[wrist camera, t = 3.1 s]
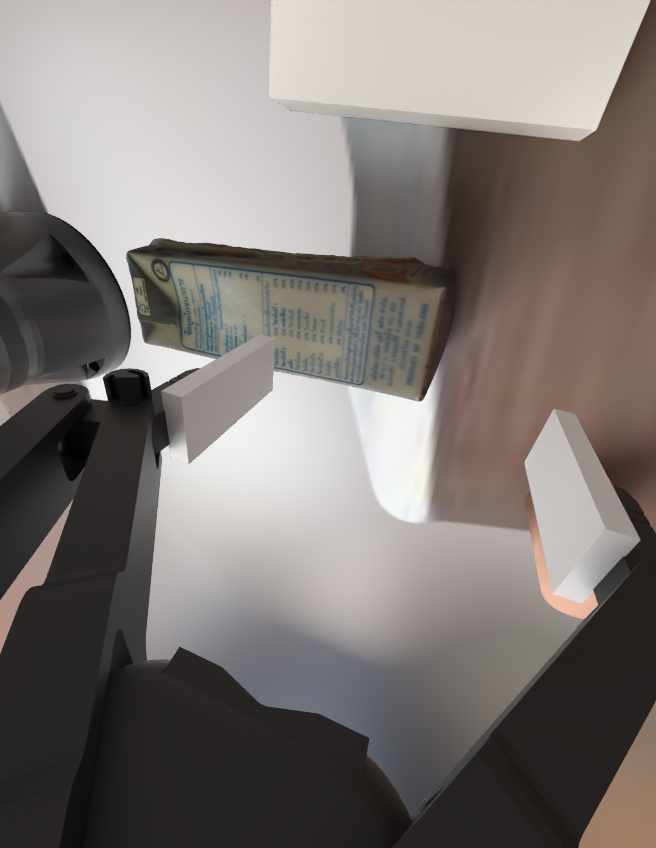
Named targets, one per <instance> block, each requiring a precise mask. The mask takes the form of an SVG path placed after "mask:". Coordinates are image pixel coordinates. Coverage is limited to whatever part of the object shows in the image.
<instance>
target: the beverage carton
mask: <svg viewBox="0 0 656 848" xmlns="http://www.w3.org/2000/svg"><path fill="white" fill-rule="evenodd" d="M126 259H127V262H128V265H129V271H130V274H131V278H132V282H133V288H134V294H135V301H136V307H137V315H138V319H139V321H140V324H141V329H142V336H143V339H144V342H145V343H147V344H151V345H157V346H162V347H167V348H172V349H175V350H180V351H184V352H188V353H192V354H197V355H201V356H205V357H210V358H214V359H218V358H220V357H221V356H223V355H225V354H226V353H228V352H230V351H232V350H233V349H235V348H237V347H239V346H240V345H242V344H244V343H246V342H247V341H249V340H251V339H253V338H254V337H256V336H258V335H260V334H262V335H266V336H270V337H273V338H275V348H274V368H273V371H277V372H282V373H288V374H293V375H298V376H303V377H309V378H314V379H320V380H324V381H329V382H333V383H338V384H343V385H348V386H352V387H356V388H361V389H367V390H371V391H375V392H380V393H385V394H389V395H394V396H398V397H403V398H407V399H411V400H415V401H422V400H423V399H424V397H425V395H426V393H427V391H428V389H429V386H430V384H431V382H432V380H433V377H434V375H435V372H436V370H437V368H438V365H439V363H440V360H441V357H442V355H443V352H444V349H445V346H446V343H447V339H448V336H449V332H450V327H451V321H452V316H453V310H454V303H455V289H456V275H457V273H456V270H455V269H445V268H442V267H434V266H429V265H426V264H423V263H422V262H421V261H420V260H418V259H416V258H390V257H385V258H375V257H363V256H362V257H344V256H334V255H314V254H299V253H297V254H293V253H286V252H277V251H267V250H260V249H248V248H242V247H231V246H227V245H218V244H211V243H184V242H177V241H173V240H170V239H163V238H159V239H154V240H153V241H152V242H151V244H150V245H148V246H145V247H141V248H137V249H134V250H130V251H128V252H127V255H126Z"/></svg>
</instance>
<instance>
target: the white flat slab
mask: <svg viewBox="0 0 656 848" xmlns="http://www.w3.org/2000/svg"><path fill="white" fill-rule="evenodd" d="M649 3H650V0H271V27H270V62H269V98H270V99H272V100H274V101H276V102H277V103H279V104H281V105H282V106H284V107H286V108H288V109H289V110H291V111H299V112H308V113H317V114H327V115H336V116H346V117H355V118H365V119H374V120H384V121H393V122H402V123H412V124H421V125H431V126H440V127H450V128H459V129H468V130H478V131H487V132H497V133H506V134H516V135H525V136H534V137H544V138H553V139H563V140H572V141H580V140H582V139H583V138H585V137H586V136H588V135H589V134H591V133H592V132H594V131H595V130H596V129H597V127H598V125H599V122H600V120H601V117H602V115H603V113H604V110H605V108H606V105H607V103H608V101H609V98H610V96H611V94H612V91H613V89H614V86H615V84H616V82H617V79H618V77H619V74H620V72H621V70H622V67H623V65H624V62H625V60H626V58H627V55H628V53H629V50H630V48H631V46H632V43H633V41H634V39H635V36H636V34H637V31H638V29H639V27H640V24H641V22H642V19H643V17H644V15H645V12H646V10H647V7H648V5H649Z"/></svg>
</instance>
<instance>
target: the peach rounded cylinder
mask: <svg viewBox="0 0 656 848" xmlns="http://www.w3.org/2000/svg"><path fill="white" fill-rule="evenodd" d="M525 507H526V513H527V518H528V523H529V529H530V534H531V539H532V544H533V550H534V555H535V560H536V566H537V571H538V576H539V581H540V587H541V592H542V594H543V596H544V598H545V599H546V601H547V602H548V603H549V604H550V605H551V606H553V607H554V608H556V609H557V610H559V611H561V612H563V613H565V614H568V615H571V616H574V617H578V618H583V619H585V618H586V617H587V616H588V615H589V614H590V613H591V612H592V611H593V610H594V609H595V608H596V607H597V606H598V603H597V600H596V597H595V594H594V591H593V593H592V594H591V595H590V596H589V597H588V598H587V599H586V600H585V601H584V602H583V603H582V604H580V603H577V602H575V601H572V600H569V599H566V598H563V597H561V596H558V595H555V594H553V592H552V587H551V583H550V578H549V573H548V569H547V564H546V560H545V555H544V550H543V546H542V541H541V537H540V532H539V527H538V523H537V518H536V514H535V509H534V504H533V500H532V495H531V491H530V492H529V494H528V495H527V497H526V500H525Z"/></svg>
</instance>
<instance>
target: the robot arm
mask: <svg viewBox="0 0 656 848" xmlns="http://www.w3.org/2000/svg"><path fill="white" fill-rule="evenodd" d="M130 342H131V322H130V316H129V311H128V307H127V304H126V301H125V298H124V295H123V292H122V290H121V288H120V285H119V283H118V281H117V279H116V277H115V275H114V274H113V272H112V270H111V268H110V267H109V265H108V264H107V262H106V261H105V259H104V258H103V257H102V255H101V254H100V253H99V251H98V250H97V249H96V248H95V247H94V246H93V245H92V243H91V242H90V241H89V240H88V239H87V238H86V237H85V236H84V235H83V234H82V233H80V232H79V231H78V230H77V229H75V228H74V227H73V226H71V225H70V224H69V223H67V222H65V221H64V220H62V219H60V218H58V217H56V216H53V215H51V214H49V215H48V214H45V213H41V212H6V213H1V214H0V394H3V393H5V392H8V391H10V390H13V389H16V388H18V387H21V386H24V385H31V384H43V383H55V382H67V381H79V380H88V379H92V378H96V377H98V376H101V375H103V374H105V373H108V372H110V371H112V370H114V369H116V368H117V367H118V366H120V365H121V363H122V362H123V361H124V360H125V358H126V356H127V354H128V351H129V348H130ZM274 348H275V338H273V337H270V336H266V335H262V334H260V335H258V336H256V337H254V338H253V339H251V340H249V341H247V342H246V343H244V344H242V345H240V346H239V347H237V348H235V349H233V350H232V351H230V352H228V353H226V354H225V355H223V356H221V357H220V358H218V359H216V360H214V361H213V362H211V363H209V364H207V365H206V366H204V367H202V368H196V369H192V370H188V371H185V372H183V373H182V374H180V375H178V376H177V377H174V378H173V379H171V380H169V382H168V381H167V382H165V383H164V384H162V385H160V386H158V387H156V388H155V389H153V390H151V387H150V381H149V376H148V373H146V372H145V371H142V370H139V369H120V370H115V371H112V372H110V373H108V374H106V375H105V376H104V377H103V381H104V385H105V389H106V394H107V398H108V401H103V400H93V399H90V395H89V391H88V389H87V388H86V387H84V386H82V385H77V384H63V385H62V384H61V385H57V386H55V387H52V388H49V389H47V390H45V391H44V392H42V393H41V394H40V395H39V396H37V397H36V398H35V399H34V400H32V401H31V402H30V403H29V404H27V405H26V406H25V407H24V408H22V409H21V410H20V411H19V412H17V413H16V414H15V415H14V416H12V417H11V418H10V419H9V420H7V421H6V422H5V423H4V424H2V425H1V426H0V600H1V598H2V597H3V596H4V594H5V593H6V591H7V590H8V589H9V587H10V586H11V584H12V583H13V581H14V580H15V579H16V577H17V576H18V574H19V573H20V572H21V570H22V569H23V568H24V566H25V565H26V564H27V562H28V561H29V559H30V558H31V557H32V555H33V554H34V553H35V551H36V550H37V548H38V547H39V546H40V544H41V543H42V541H43V540H44V539H45V537H46V536H47V534H48V533H49V532H50V530H51V529H52V527H53V526H54V525H55V523H56V522H57V521H58V519H59V518H60V516H61V515H62V514H63V512H64V511H65V509H66V508H67V507H68V505H69V504H70V502H71V501H72V500H73V498H74V500H73V503H72V506H71V508H70V511H69V515H68V517H67V520H66V523H65V526H64V529H63V531H62V534H61V537H60V540H59V543H58V546H57V549H56V551H55V555H54V558H53V560H52V563H51V566H50V569H49V572H48V574H47V578H46V579H45V582H44V584H43V585H41V586H35V587H31V588H30V589H29V590H28V591H27V592H26V593H25V595H24V597H23V598H22V600H21V602H20V605H19V607H18V610H17V612H16V615H15V618H14V620H13V622H12V625H11V628H10V630H9V633H8V635H7V638H6V640H5V643H4V646H3V648H2V651H1V653H0V848H578V847H579V842H580V839H581V837H582V835H583V833H584V831H585V829H586V828H587V826H588V824H589V822H590V820H591V818H592V817H593V815H594V813H595V811H596V809H597V807H598V806H599V804H600V802H601V800H602V798H603V797H604V795H605V793H606V791H607V789H608V787H609V786H610V784H611V782H612V780H613V778H614V776H615V775H616V772H617V771H618V769H619V767H620V765H621V763H622V762H623V760H624V758H625V756H626V754H627V753H628V751H629V749H630V747H631V745H632V744H633V742H634V740H635V738H636V736H637V734H638V732H639V731H640V729H641V727H642V725H643V723H644V721H645V719H646V718H647V716H648V714H649V712H650V711H651V709H652V707H653V705H654V703H655V701H656V533H655V532H654V530H653V528H652V527H651V526H650V523H649V521H648V520H647V518H646V516H644V513H643V511H642V509H641V507H640V506H639V504H638V502H637V501H636V500H635V499H634V498H633V497H632V496H631V495H630V494H628V493H627V492H626V491H625V490H624V489H622V488H618V487H615V486H612V484H611V482H610V480H609V478H608V476H607V475H606V473H605V471H604V469H603V467H602V465H601V463H600V461H599V459H598V457H597V455H596V453H595V452H594V450H593V448H592V446H591V444H590V442H589V440H588V438H587V436H586V434H585V432H584V430H583V429H582V427H581V425H580V423H579V421H578V419H577V417H576V415H575V414H573V413H569V412H565V411H561V410H557V409H553V411H552V413H551V415H550V417H549V419H548V420H547V422H546V424H545V426H544V428H543V429H542V431H541V433H540V435H539V437H538V439H537V440H536V442H535V444H534V446H533V448H532V449H531V451H530V453H529V455H528V457H527V459H526V460H525V462H524V463H525V468H526V472H527V477H528V481H529V486H530V491H531V495H532V500H533V504H534V509H535V514H536V518H537V523H538V527H539V532H540V537H541V541H542V546H543V550H544V555H545V560H546V564H547V569H548V573H549V578H550V583H551V587H552V592H553V594H555V595H558V596H561V597H563V598H566V599H569V600H572V601H575V602H577V603H580V604H582V603H583V602H584V601H585V600H586V599H587V598H588V597H589V596H590V595H591V594H592V593H593V591H594V594H595V597H596V600H597V603H598V606H597V607H596V608H595V609H594V610H593V611H592V612H591V613H590V614H589V615H588V616H587V617H586V618H585V619H584V620H583V621H582V622H581V623H580V624H579V625H578V627H577V629H576V630H575V631H574V632H573V634H572V635H571V636H570V637H569V638H568V639H567V640H566V641H565V643H564V644H563V645H562V646H561V647H560V648H559V649H558V650H557V652H556V653H555V654H554V655H553V656H552V657H551V658H550V660H548V662H547V663H546V664H545V665H544V666H543V667H542V668H541V670H540V671H539V672H538V673H537V674H536V675H535V676H534V678H533V679H532V680H531V681H530V682H529V683H528V684H527V685H526V687H525V688H524V689H523V690H522V691H521V692H520V693H519V694H518V695H517V697H516V698H515V699H514V700H513V701H512V702H511V703H510V705H509V706H508V707H507V708H506V709H505V710H504V711H503V712H502V713H501V715H500V716H499V717H498V718H497V719H496V720H495V721H494V723H493V724H492V725H491V726H490V727H489V728H488V730H486V732H485V733H484V734H483V735H482V736H481V737H480V738H479V739H478V741H477V742H476V743H475V744H474V745H473V746H472V748H470V750H469V751H468V752H467V753H466V754H465V755H464V756H463V758H462V759H461V760H460V761H459V762H458V763H457V764H456V765H455V767H454V768H453V769H452V770H451V771H450V772H449V774H448V775H447V776H446V777H445V778H444V779H443V780H442V781H441V782H440V783H439V784H438V786H437V787H436V788H435V789H434V790H433V791H432V792H431V793H430V794H429V795H428V796H427V797H426V798H425V800H424V801H423V802H422V803H421V804H420V805H419V806H418V807H417V808H416V809H415V810H414V812H413V813H412V814H411V815H409V813H408V811H407V809H406V807H405V805H404V803H403V802H402V799H401V798H400V796H399V794H398V792H397V791H396V789H395V788H394V786H393V785H392V783H391V782H390V780H389V779H388V777H387V776H386V775H385V774H384V772H383V771H382V770H381V769H380V768H379V767H378V765H377V764H376V763H375V762H374V761H373V760H372V759H371V758H369V757H368V756H367V755H366V754H367V748H368V743H369V738H367V737H366V736H364V735H361V734H359V733H357V732H355V731H353V730H351V729H349V728H347V727H345V726H343V725H341V724H339V723H337V722H334V721H332V720H330V719H328V718H326V717H324V716H322V715H320V714H316V713H309V712H302V711H295V710H288V709H280V708H273V707H267V706H264V705H262V704H260V703H259V702H257V701H256V700H255V699H254V698H253V697H252V696H251V695H250V694H249V693H248V692H247V691H246V690H245V689H244V688H243V687H242V686H241V685H240V684H239V683H238V682H237V681H236V680H235V679H234V678H233V677H232V676H230V674H229V673H228V672H227V671H225V670H224V669H223V668H222V667H221V666H218V665H216V664H214V663H212V662H210V661H208V660H206V659H204V658H202V657H200V656H198V655H196V654H194V653H192V652H190V651H187V650H185V649H183V648H181V647H179V649H178V650H177V652H176V653H175V655H174V656H173V658H172V659H171V660H149V661H147V656H146V628H147V617H148V606H149V595H150V585H151V574H152V563H153V552H154V541H155V530H156V519H157V508H158V497H159V486H160V475H161V463H162V456H161V450H163V449H164V448H165V447H166V446H168V445H169V451H170V457H171V458H172V459H175V460H178V461H180V462H183V463H186V464H190V463H191V462H192V461H193V460H194V459H195V458H196V457H198V456H199V455H200V454H201V453H202V452H203V451H204V450H205V449H206V448H208V447H209V446H210V445H211V444H212V443H213V442H214V441H216V440H217V439H218V438H219V437H220V436H221V435H222V434H223V433H225V432H226V431H227V430H228V429H229V428H230V427H231V426H232V425H233V424H235V423H236V422H237V421H238V420H239V419H240V418H241V417H242V416H244V415H245V414H246V413H247V412H248V411H249V410H250V409H251V408H253V407H254V406H255V405H256V404H257V403H258V402H259V401H260V400H262V399H263V398H264V397H265V396H266V395H267V394H268V393H270V392H271V391H272V388H273V368H274Z"/></svg>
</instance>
